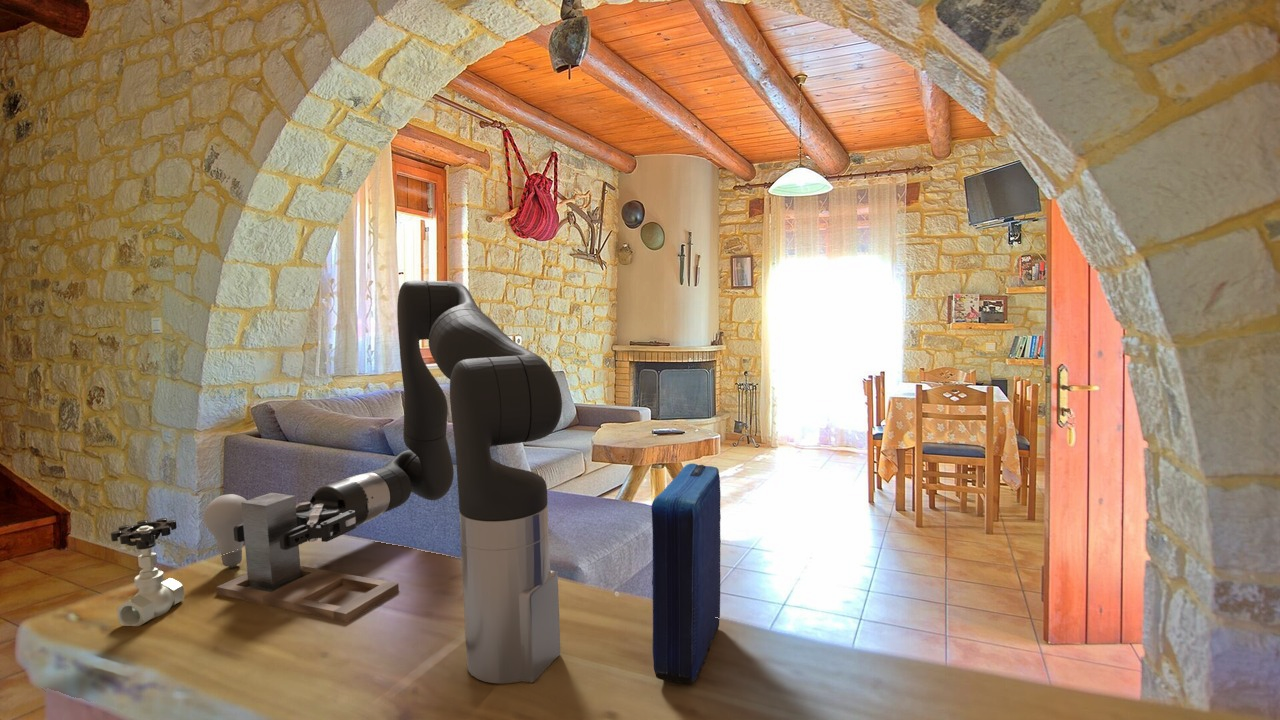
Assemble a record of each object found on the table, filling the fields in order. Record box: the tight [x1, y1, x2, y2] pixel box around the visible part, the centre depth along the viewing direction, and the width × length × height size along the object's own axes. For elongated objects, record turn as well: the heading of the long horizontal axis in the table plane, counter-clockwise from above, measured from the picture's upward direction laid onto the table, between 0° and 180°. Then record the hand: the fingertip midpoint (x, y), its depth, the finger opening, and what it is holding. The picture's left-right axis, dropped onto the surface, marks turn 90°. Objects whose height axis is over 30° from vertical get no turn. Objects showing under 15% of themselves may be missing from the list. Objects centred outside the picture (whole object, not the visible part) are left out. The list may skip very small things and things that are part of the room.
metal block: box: [241, 492, 301, 592], centre depth 92 cm, size 4×4×12 cm
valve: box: [110, 517, 185, 627], centre depth 85 cm, size 7×7×12 cm
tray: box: [216, 565, 400, 623], centre depth 91 cm, size 22×9×2 cm, turn 68°
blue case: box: [650, 463, 722, 685], centre depth 74 cm, size 14×5×20 cm, turn 162°
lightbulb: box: [203, 493, 247, 568], centre depth 101 cm, size 6×6×11 cm
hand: (258, 538), depth 91 cm, fingers open, 8 cm apart
